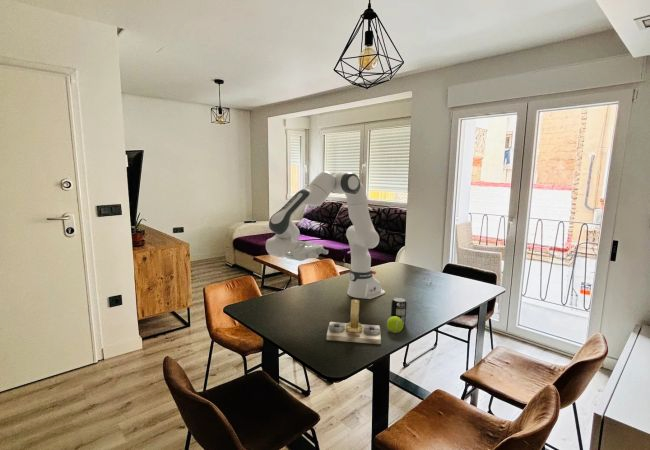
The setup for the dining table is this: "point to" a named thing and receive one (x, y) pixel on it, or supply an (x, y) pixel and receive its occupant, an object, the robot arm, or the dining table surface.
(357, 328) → the gold flanged post
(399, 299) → the beverage can
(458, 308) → the dining table surface
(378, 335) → the gear board
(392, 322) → the tennis ball
